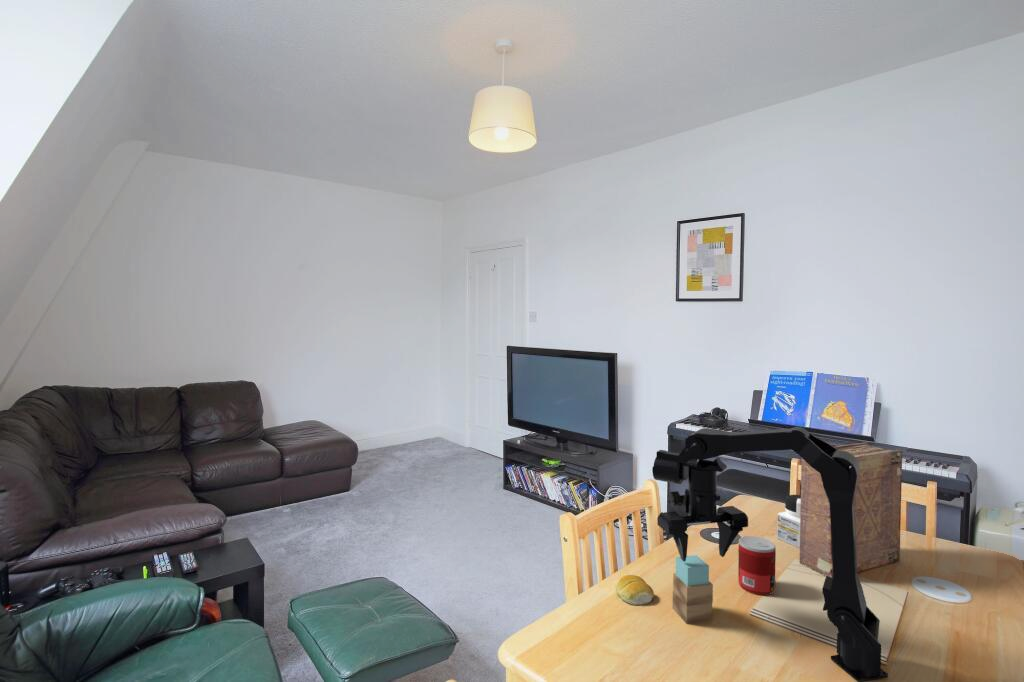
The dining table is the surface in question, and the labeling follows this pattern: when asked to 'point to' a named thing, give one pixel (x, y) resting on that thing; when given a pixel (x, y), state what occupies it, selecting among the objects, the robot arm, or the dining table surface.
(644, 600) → the bread roll
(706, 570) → the teal block
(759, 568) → the canned food
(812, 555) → the book
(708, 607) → the tower base
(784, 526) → the container
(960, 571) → the dining table surface
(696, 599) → the tower top
